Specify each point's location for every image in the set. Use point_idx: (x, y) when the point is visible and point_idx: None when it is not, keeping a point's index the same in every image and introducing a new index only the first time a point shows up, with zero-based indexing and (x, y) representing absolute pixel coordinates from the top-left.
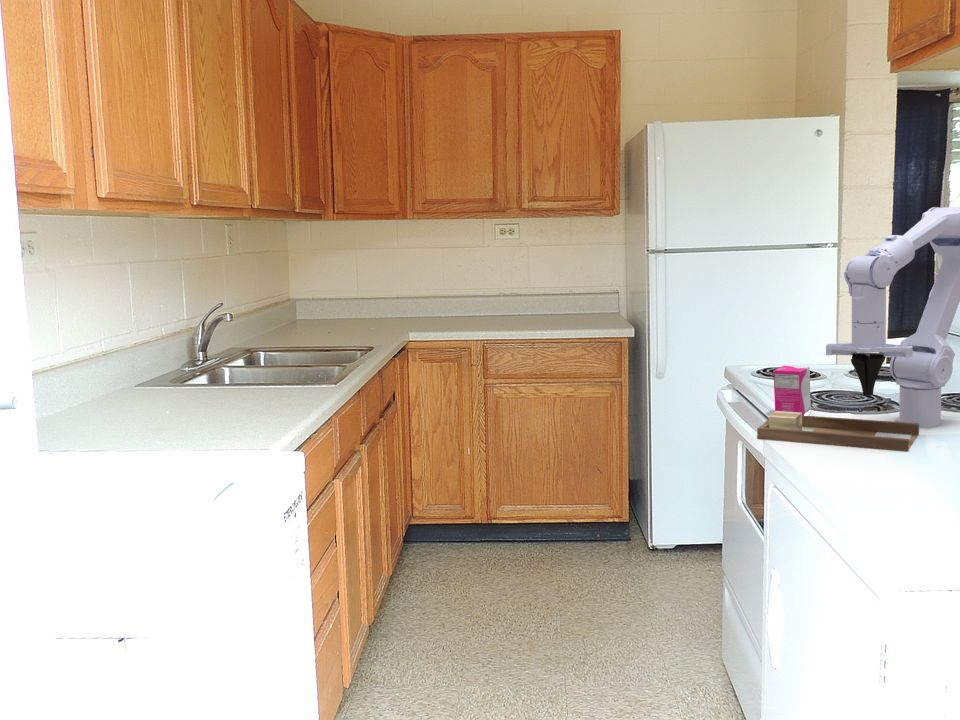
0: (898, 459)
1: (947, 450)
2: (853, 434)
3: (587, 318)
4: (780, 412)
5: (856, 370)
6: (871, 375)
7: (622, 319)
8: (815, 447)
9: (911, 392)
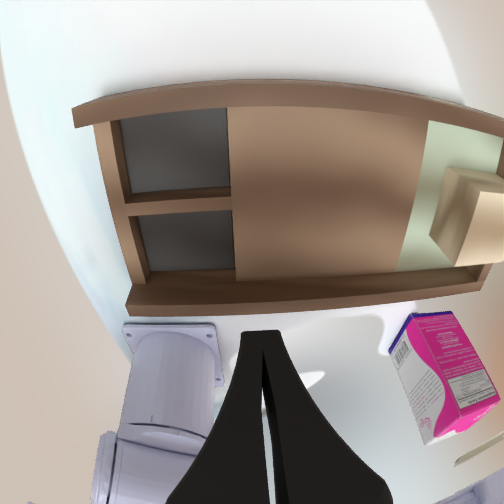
0: (124, 89)
1: (62, 233)
2: (295, 236)
3: (476, 452)
4: (498, 250)
5: (340, 443)
6: (237, 426)
7: (459, 460)
8: None
9: (168, 417)
